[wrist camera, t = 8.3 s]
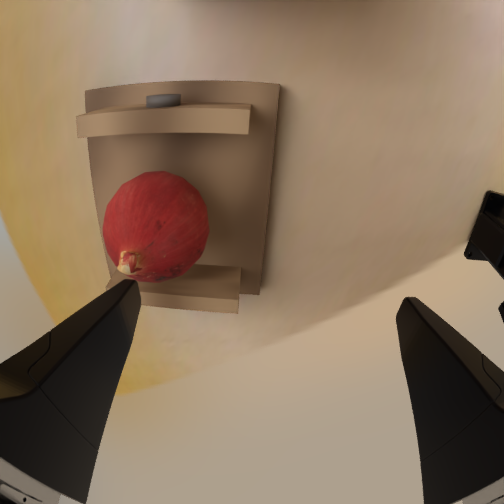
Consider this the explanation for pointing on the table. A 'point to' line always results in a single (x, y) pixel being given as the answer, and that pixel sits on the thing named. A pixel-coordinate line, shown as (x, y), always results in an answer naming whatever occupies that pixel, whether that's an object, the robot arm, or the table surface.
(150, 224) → the onion
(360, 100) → the table surface
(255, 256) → the cup
